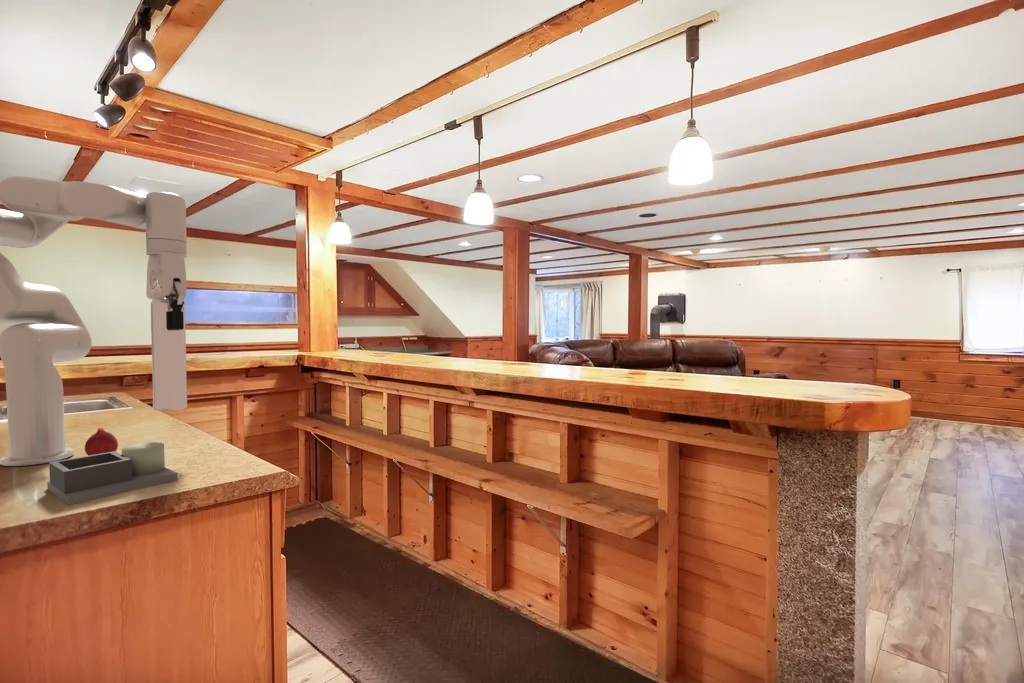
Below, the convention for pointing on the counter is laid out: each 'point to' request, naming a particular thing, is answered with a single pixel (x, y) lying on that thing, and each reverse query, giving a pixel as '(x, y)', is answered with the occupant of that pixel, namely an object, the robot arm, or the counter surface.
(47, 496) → the counter surface
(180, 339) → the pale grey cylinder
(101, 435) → the onion
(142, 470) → the grey desk organizer
